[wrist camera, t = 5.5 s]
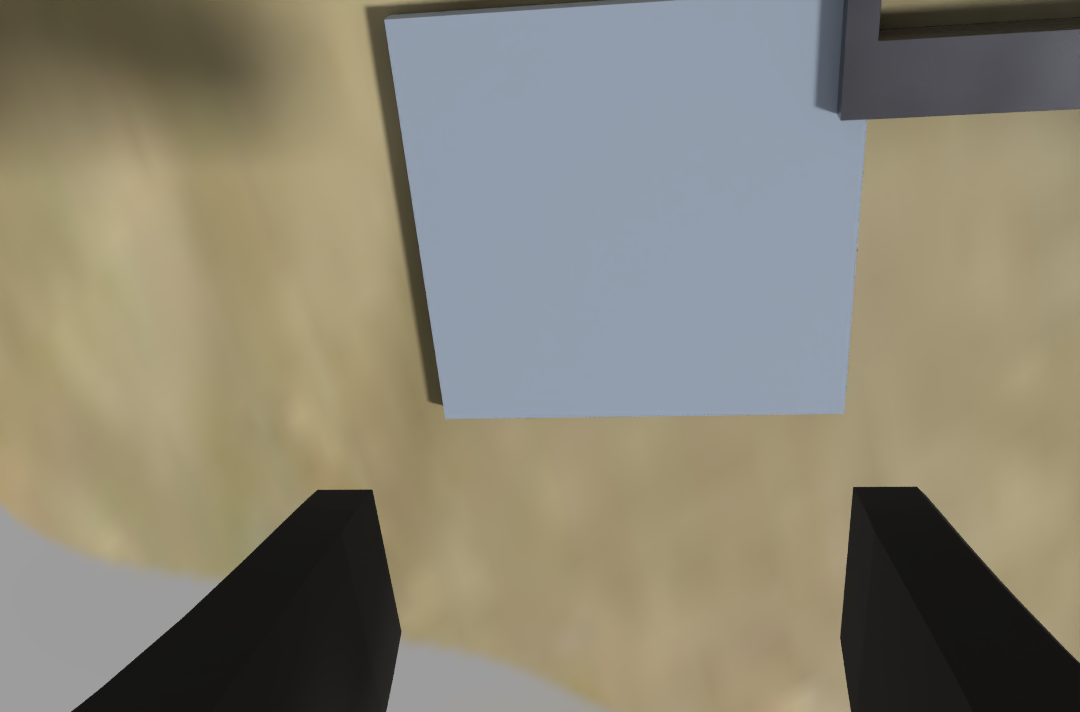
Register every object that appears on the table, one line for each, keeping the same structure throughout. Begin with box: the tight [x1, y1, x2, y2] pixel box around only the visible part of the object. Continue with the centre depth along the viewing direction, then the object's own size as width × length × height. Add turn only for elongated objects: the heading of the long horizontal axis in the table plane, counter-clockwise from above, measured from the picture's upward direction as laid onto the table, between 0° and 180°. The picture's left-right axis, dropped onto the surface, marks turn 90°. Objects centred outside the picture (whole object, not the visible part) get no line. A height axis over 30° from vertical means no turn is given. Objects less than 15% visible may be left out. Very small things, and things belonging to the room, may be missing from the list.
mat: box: [384, 0, 867, 419], centre depth 19 cm, size 8×8×1 cm
